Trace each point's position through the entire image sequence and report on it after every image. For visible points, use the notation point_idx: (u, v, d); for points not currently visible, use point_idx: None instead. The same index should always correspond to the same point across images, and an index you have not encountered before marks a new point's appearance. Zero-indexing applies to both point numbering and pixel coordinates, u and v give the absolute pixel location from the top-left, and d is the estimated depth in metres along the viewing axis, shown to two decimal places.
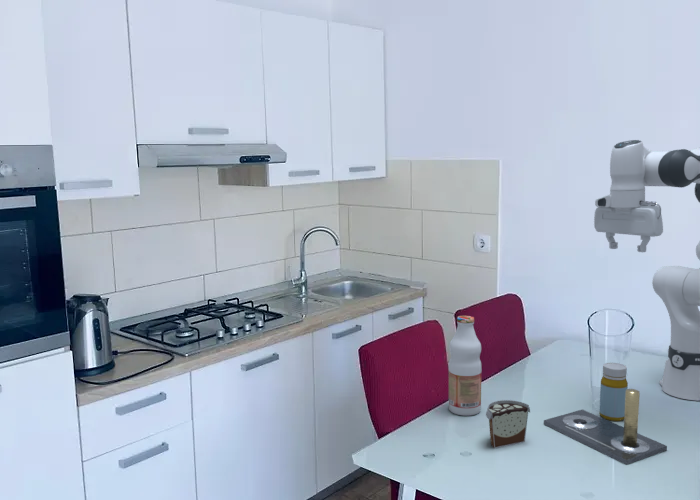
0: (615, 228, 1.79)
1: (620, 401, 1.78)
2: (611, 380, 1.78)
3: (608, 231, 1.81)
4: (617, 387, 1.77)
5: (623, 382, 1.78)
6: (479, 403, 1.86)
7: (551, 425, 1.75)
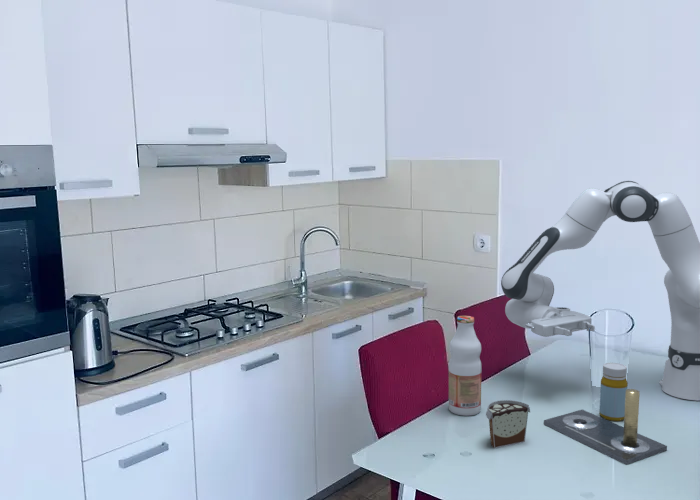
0: None
1: (620, 401, 1.78)
2: (611, 380, 1.78)
3: (579, 330, 1.97)
4: (617, 387, 1.77)
5: (623, 382, 1.78)
6: (479, 403, 1.86)
7: (551, 425, 1.75)
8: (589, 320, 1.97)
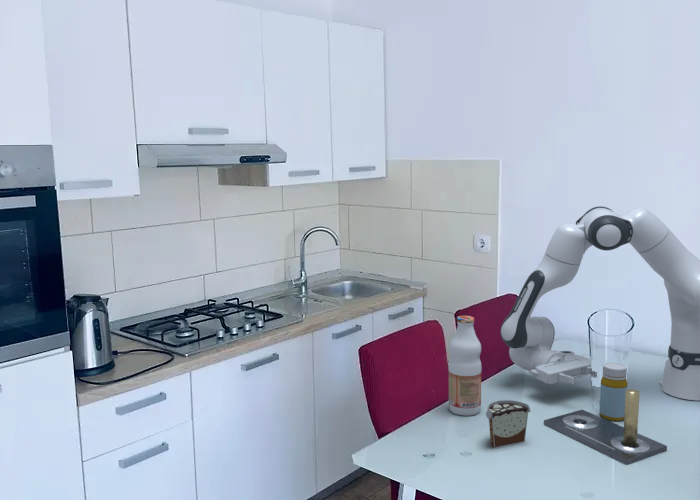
0: None
1: (620, 401, 1.78)
2: (611, 380, 1.78)
3: None
4: (617, 387, 1.77)
5: (623, 382, 1.78)
6: (479, 403, 1.86)
7: (551, 425, 1.75)
8: None
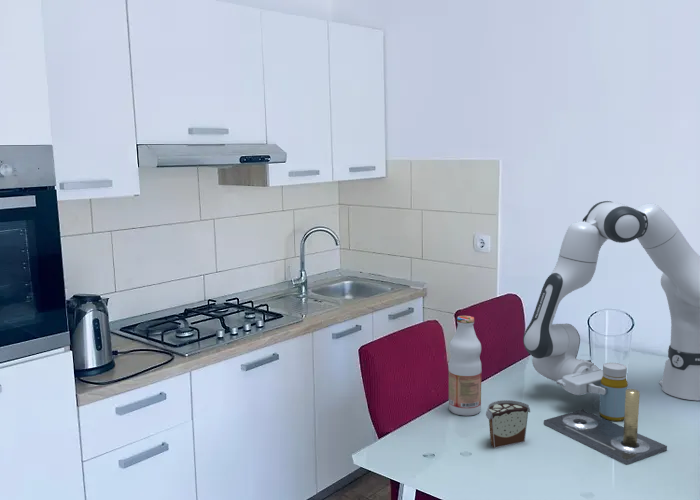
0: None
1: (620, 401, 1.78)
2: (611, 380, 1.78)
3: None
4: (617, 387, 1.77)
5: (623, 382, 1.78)
6: (479, 403, 1.86)
7: (551, 425, 1.75)
8: None
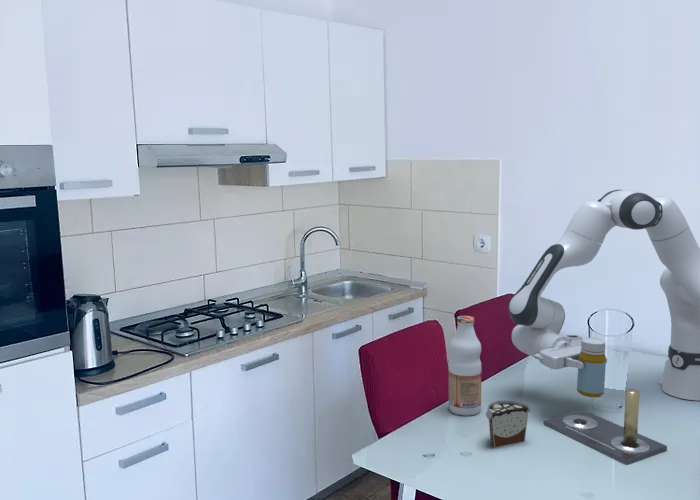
0: None
1: (598, 376, 1.73)
2: (589, 355, 1.73)
3: None
4: (595, 362, 1.72)
5: (601, 357, 1.73)
6: (479, 403, 1.86)
7: (551, 425, 1.75)
8: None
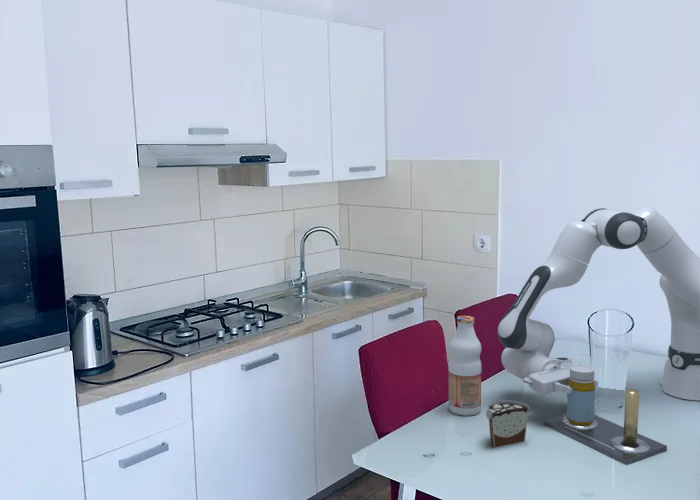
0: None
1: (587, 405, 1.72)
2: (578, 383, 1.72)
3: None
4: (584, 391, 1.71)
5: (590, 386, 1.72)
6: (479, 403, 1.86)
7: (551, 425, 1.75)
8: None
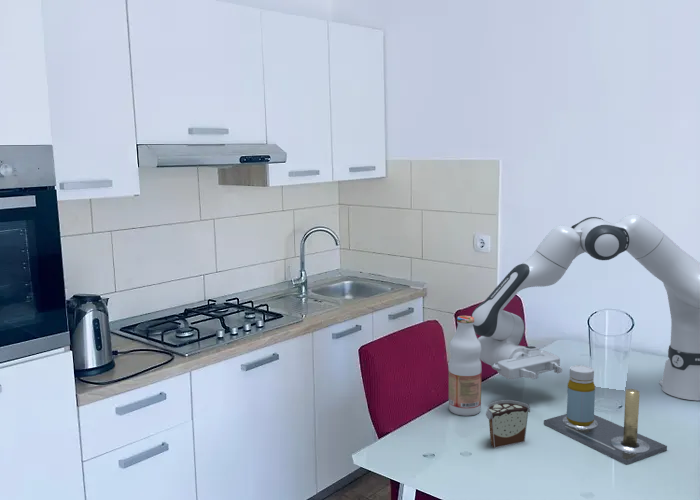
0: None
1: (587, 405, 1.72)
2: (578, 383, 1.72)
3: None
4: (584, 391, 1.71)
5: (590, 386, 1.72)
6: (479, 403, 1.86)
7: (551, 425, 1.75)
8: (557, 360, 1.93)
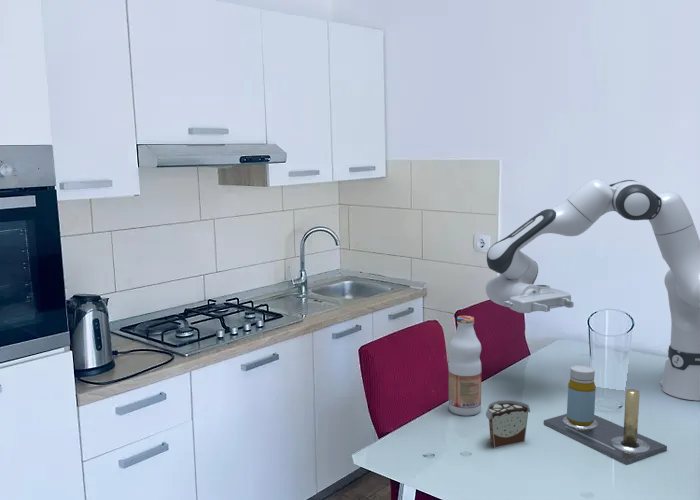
0: None
1: (587, 405, 1.72)
2: (578, 383, 1.72)
3: None
4: (584, 391, 1.71)
5: (590, 386, 1.72)
6: (479, 403, 1.86)
7: (551, 425, 1.75)
8: (569, 297, 1.95)
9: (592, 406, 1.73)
